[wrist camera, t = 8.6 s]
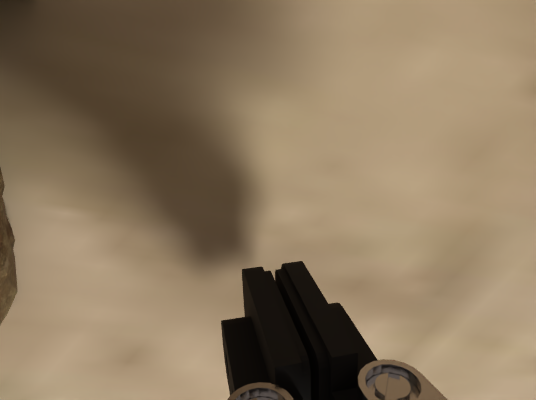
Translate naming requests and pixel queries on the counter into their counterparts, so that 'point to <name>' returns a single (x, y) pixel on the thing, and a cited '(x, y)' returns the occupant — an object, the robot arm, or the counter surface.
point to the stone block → (6, 260)
